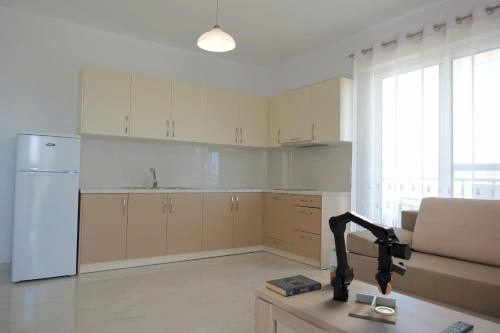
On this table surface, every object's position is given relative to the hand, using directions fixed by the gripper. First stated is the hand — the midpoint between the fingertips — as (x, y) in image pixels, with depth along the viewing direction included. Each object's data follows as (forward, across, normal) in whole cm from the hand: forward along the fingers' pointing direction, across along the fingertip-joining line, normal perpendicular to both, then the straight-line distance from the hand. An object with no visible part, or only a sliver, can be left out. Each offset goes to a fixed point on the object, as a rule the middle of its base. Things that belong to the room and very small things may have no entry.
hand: (384, 292), depth 146 cm
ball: (-2, 0, 0) cm, 2 cm away
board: (+9, 0, +4) cm, 10 cm away
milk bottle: (+10, +32, +26) cm, 43 cm away
